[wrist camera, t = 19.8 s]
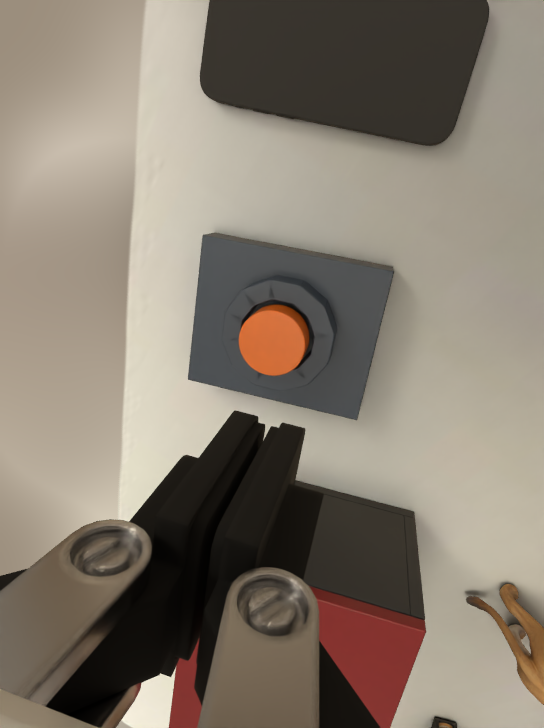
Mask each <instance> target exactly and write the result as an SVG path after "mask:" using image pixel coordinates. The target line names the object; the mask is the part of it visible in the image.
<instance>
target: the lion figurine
mask: <svg viewBox="0 0 544 728" xmlns="http://www.w3.org/2000/svg"><path fill="white" fill-rule="evenodd" d="M500 596H501V598H502V600H503V602H504V604H505V606H506V607H507V609H508V610H509V612H510V613H511V614H512V615H514V616H515V617H516V618H517V619H518V621H519V622H520V624H521V625H522V627H523V628H524V629H523V628H522V627H521V626H519V625H510V626H509V627H508V626H507V624H506V623H505V621H504V620H503V619H502V617H501V616H500V615H499V614H498V613H497V612H496V611H495V610H494V609H493V608H492V607H491V606H489V605H488V604H487V603H485V602H484V601H482V600H481V599H480V598H478V597H472V596H469V597H467V598H466V601H467V603H469V604H471V605H472V606H475V607H477V608H479V609H481V610H484V611H486V612H487V613H489V614H490V615H491V616H492V617H493V618H494V619H495V621H496V622H497V624H498V626H499V627H500V629H501V631H502V632H503V634H504V636H505V638H506V640H507V642H508V644H509V646H510V648H511V650H512V652H513V653H514V655H515V657H516V660H517V671H518V674H519V676H520V678H521V680H522V682H523V684H524V685H525V686H526V688H527V689H528V690H529V691H530V692H531V693H532V694H533V695H534V696H535V697H536V698H537V699H538V700H539V701H540V702H541V703H542V704H543V705H544V628H543V627H542V626H541V625H540V624H539V623H538V622H537V621H536V620H535V619H534V618H533V617H532V616H531V615H530V614H529V613H527V612H526V611H525V610H524V609H523V608H522V607H521V606H520V605H519V604H518V603H517V602H516V601H515V600H516V599H518V591H517V588H516V587H515V586H514V585H511V584H505V585H504V586H502V588H501V589H500ZM525 632H526V633H527V635H528V637H529V640H530V649H531V654H530V653H529V651H528V650H527V649H526V648H525V647H524V645H523V644H522V642H521V639H523V638H524V637H525V636H526V633H525Z"/></svg>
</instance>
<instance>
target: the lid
mask: <svg viewBox="0 0 544 728" xmlns="http://www.w3.org/2000/svg"><path fill="white" fill-rule="evenodd" d="M309 587H310V588H311V590H312V592H313V594H314V595H315V597H316V599H317V603H318V609H319V641H320V642H321V643H322V645H323V646H324V648H325V649H326V651H327V652H328V653H329V655H330V656H331V658H332V659H333V661H334V662H335V663H336V665H337V666H338V668H339V669H340V671H341V672H342V673H343V675H344V676H345V678H346V679H347V680H348V682H349V683H350V685H351V686H352V688H353V689H354V690H355V692H356V693H357V695H358V696H359V698H360V699H361V700H362V702H363V703H364V705H365V706H366V708H367V709H368V710H369V712H370V713H371V715H372V716H373V718H374V719H375V720H376V722H377V723H378V725H379V726H380V727H381V728H390V726H391V723H392V720H393V718H394V715H395V713H396V710H397V707H398V705H399V702H400V699H401V697H402V694H403V691H404V689H405V686H406V683H407V681H408V678H409V675H410V673H411V670H412V667H413V665H414V662H415V660H416V657H417V654H418V652H419V649H420V646H421V644H422V641H423V638H424V636H425V633H426V627H425V621H424V620H422V619H418V618H415V617H412V616H408V615H405V614H401V613H398V612H395V611H391V610H388V609H385V608H381V607H378V606H375V605H371V604H368V603H364V602H361V601H358V600H354V599H351V598H348V597H344V596H341V595H338V594H334V593H331V592H327V591H324V590H321V589H317V588H314V587H311V586H309ZM198 644H199V640H198V642H197V645H196V647H195V649H194V651H193V654H192V656H191V658H190V659H189V660H188V661H186V660H183V659H181V658H180V659H179V661H178V663H177V665H176V673H175V681H174V690H173V698H172V706H171V714H170V723H169V728H197V727H198V722H199V718H200V713H201V709H202V706H201V703H200V701H199V698H198V696H197V694H196V691H195V689H194V683H195V676H196V669H197V664H196V659H197V652H198Z"/></svg>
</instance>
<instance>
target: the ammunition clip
mask: <svg viewBox="0 0 544 728" xmlns="http://www.w3.org/2000/svg"><path fill="white" fill-rule="evenodd" d="M431 728H457V724H456V723H453V722H450V721H446V720H442V719H439V718H434V720H433V724H432V727H431Z"/></svg>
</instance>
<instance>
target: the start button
mask: <svg viewBox="0 0 544 728" xmlns="http://www.w3.org/2000/svg"><path fill="white" fill-rule="evenodd" d="M308 345H309V330H308V327H307V324H306V322H305V321H304V319H303V318H302V316H301V315H300V314H299V313H298V312H296V311H295V310H294V309H292V308H290V307H287V306H284V305H279V304H273V305H268V306H265V307H262V308H261V309H259V310H258V311H256V312H255V313H254V314H253V315H252V316H250V317H249V318H248V319H247V320H246V321H245V323H244V324H243V326H242V328H241V331H240V334H239V347H240V351H241V354H242V356H243V358H244V359H245V361H246V362H247V363H248V365H249V366H251V367H252V368H253V369H254V370H256V371H258V372H260V373H262V374H265V375H271V376H277V375H283V374H286V373H288V372H290V371H292V370H293V369H295V368H296V367H297V366H298V364H299V363H300V362H301V360H302V358H303V356H304V354H305V352H306V350H307V348H308Z"/></svg>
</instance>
